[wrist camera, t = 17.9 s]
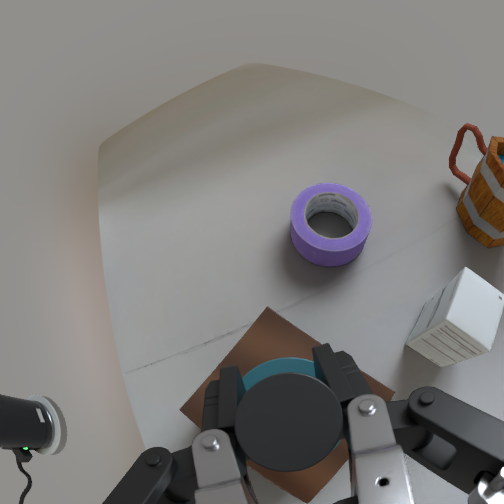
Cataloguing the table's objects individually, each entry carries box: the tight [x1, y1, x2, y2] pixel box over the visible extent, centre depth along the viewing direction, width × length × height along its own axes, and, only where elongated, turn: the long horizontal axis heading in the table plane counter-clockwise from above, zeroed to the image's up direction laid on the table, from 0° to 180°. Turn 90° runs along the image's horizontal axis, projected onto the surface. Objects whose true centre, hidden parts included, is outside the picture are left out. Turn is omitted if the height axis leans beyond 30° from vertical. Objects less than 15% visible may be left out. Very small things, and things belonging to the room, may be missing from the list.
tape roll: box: [291, 183, 372, 267], centre depth 42 cm, size 12×12×5 cm
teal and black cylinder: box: [234, 357, 343, 472], centre depth 13 cm, size 6×6×12 cm
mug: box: [449, 123, 504, 248], centre depth 37 cm, size 20×14×15 cm
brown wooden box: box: [180, 307, 395, 504], centre depth 29 cm, size 14×16×10 cm
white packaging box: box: [405, 267, 504, 367], centre depth 29 cm, size 7×7×13 cm
